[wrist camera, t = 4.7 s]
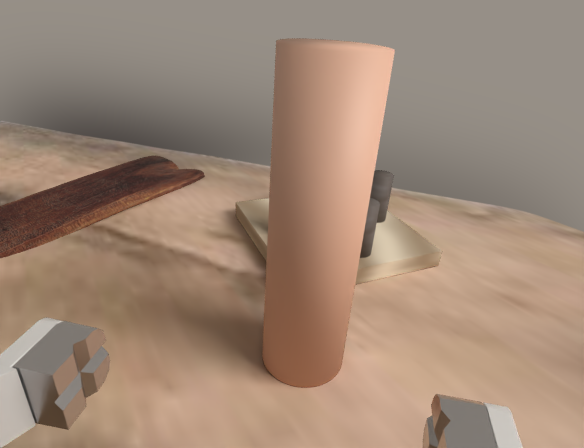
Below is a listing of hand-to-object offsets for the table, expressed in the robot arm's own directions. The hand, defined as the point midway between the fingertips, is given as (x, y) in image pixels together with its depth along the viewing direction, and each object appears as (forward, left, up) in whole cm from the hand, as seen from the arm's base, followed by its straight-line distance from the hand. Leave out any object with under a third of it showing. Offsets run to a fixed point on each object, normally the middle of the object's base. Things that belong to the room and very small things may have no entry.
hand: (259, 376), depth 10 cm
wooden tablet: (-5, +37, -12) cm, 40 cm away
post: (+7, +10, -11) cm, 17 cm away
